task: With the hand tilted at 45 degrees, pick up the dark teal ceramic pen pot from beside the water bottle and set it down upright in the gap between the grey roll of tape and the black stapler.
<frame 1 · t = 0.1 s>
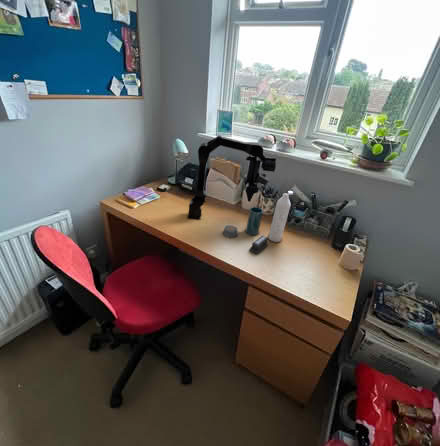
hand: (248, 197, 131), 15 cm above the table, tool pointing down, fingers open, 9 cm apart
water bottle: (275, 238, 127), on the table
pen pot: (251, 231, 129), on the table
stapler: (258, 247, 117), on the table
tape roll: (230, 233, 125), on the table
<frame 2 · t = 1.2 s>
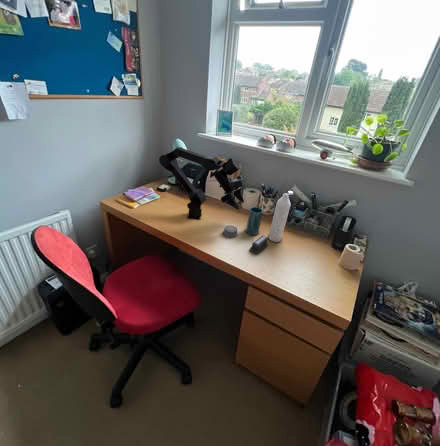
hand: (241, 205, 125), 13 cm above the table, tool tilted 45°, fingers open, 9 cm apart
nothing on the table moved.
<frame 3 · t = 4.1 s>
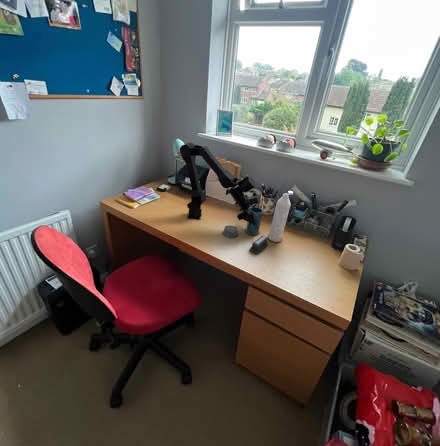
hand: (256, 221, 126), 7 cm above the table, tool tilted 45°, fingers closed on pen pot, 7 cm apart
pen pot: (251, 231, 129), on the table, touching gripper
everything else where it was.
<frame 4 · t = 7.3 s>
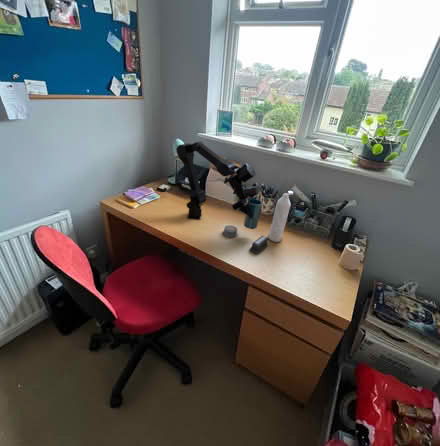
hand: (255, 214, 117), 13 cm above the table, tool tilted 45°, fingers closed on pen pot, 7 cm apart
pen pot: (250, 225, 121), point 7 cm above the table, touching gripper
everything else where it was.
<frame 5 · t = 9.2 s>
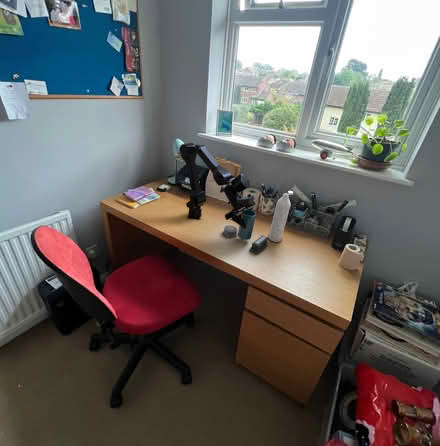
hand: (249, 225, 116), 9 cm above the table, tool tilted 45°, fingers closed on pen pot, 7 cm apart
pen pot: (244, 236, 120), point 3 cm above the table, touching gripper
everything else where it was.
when the fingers open (7 cm above the table, at t = 10.6 s): pen pot stays where it is, on the table.
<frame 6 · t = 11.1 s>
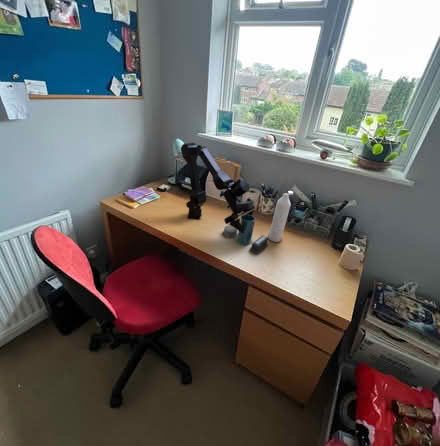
hand: (248, 229, 117), 7 cm above the table, tool tilted 45°, fingers open, 9 cm apart
pen pot: (243, 240, 121), on the table
everything else where it was.
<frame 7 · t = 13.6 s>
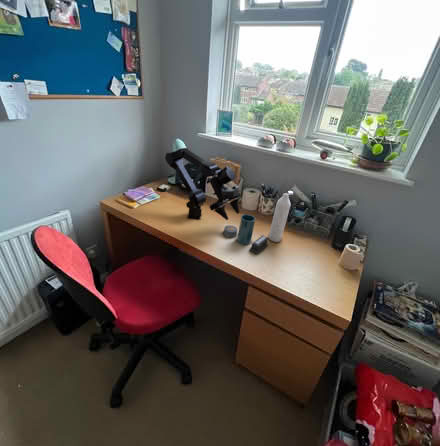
hand: (233, 216, 121), 10 cm above the table, tool tilted 40°, fingers open, 9 cm apart
nothing on the table moved.
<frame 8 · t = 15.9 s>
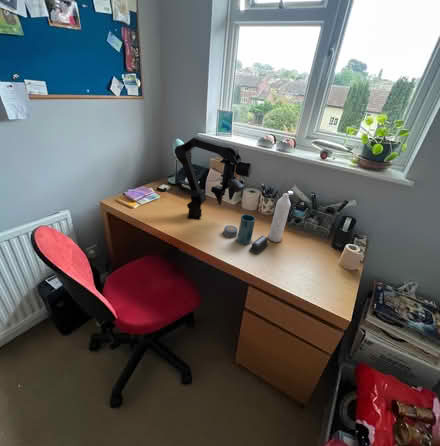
hand: (225, 202, 127), 13 cm above the table, tool pointing down, fingers open, 9 cm apart
nothing on the table moved.
at the end: pen pot 8.5 cm from the tape roll (horizontally); pen pot 8.5 cm from the stapler (horizontally); pen pot tilted 0° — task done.
